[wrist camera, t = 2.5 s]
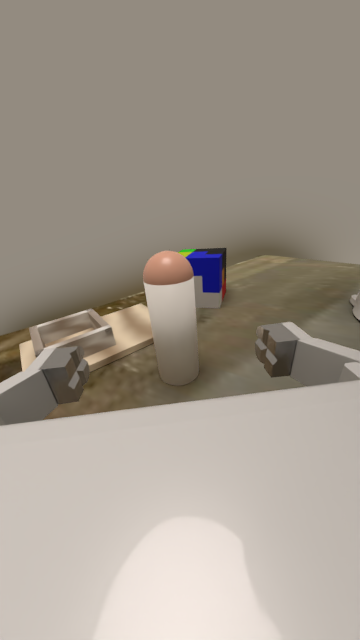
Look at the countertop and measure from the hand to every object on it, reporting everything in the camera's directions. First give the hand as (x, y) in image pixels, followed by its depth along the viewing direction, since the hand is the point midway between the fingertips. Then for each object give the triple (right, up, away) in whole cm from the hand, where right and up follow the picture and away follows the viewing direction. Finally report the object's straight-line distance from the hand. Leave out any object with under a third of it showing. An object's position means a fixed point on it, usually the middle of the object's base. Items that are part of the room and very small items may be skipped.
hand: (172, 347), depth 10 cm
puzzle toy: (+5, +6, +38) cm, 39 cm away
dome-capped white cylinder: (0, -5, +16) cm, 17 cm away
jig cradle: (-13, -2, +25) cm, 28 cm away
